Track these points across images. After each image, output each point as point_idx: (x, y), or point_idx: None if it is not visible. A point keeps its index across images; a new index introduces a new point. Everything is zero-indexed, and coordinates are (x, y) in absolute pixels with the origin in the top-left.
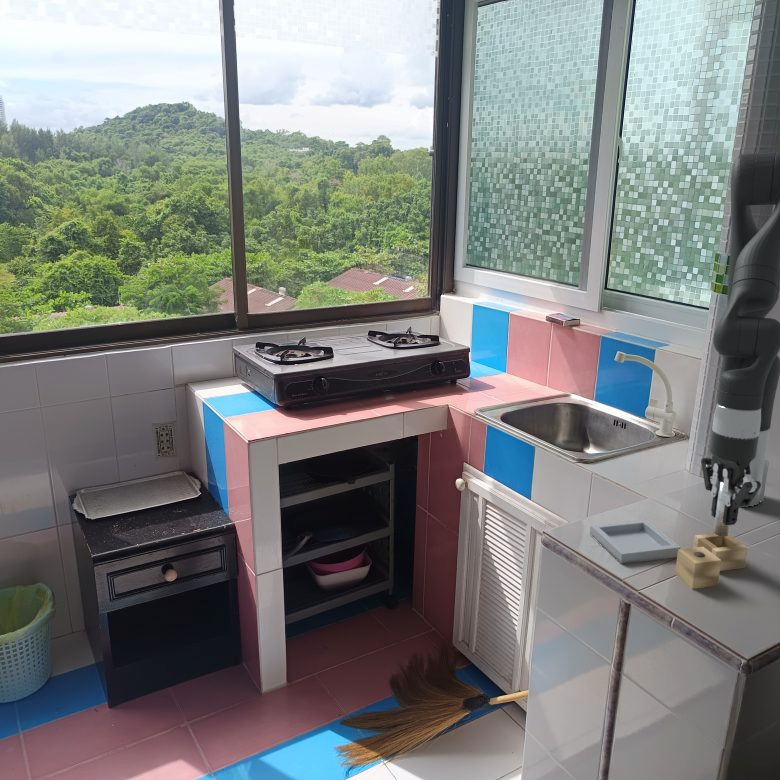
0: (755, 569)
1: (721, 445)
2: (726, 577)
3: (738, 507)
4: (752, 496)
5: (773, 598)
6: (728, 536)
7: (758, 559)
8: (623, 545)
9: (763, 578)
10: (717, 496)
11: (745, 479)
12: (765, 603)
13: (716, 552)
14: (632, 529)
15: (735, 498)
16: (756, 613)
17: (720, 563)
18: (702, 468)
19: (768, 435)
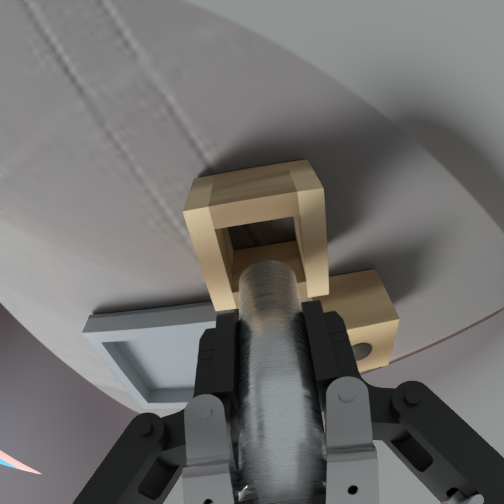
0: (313, 126)
1: None
2: (342, 230)
3: (361, 380)
4: (474, 441)
5: (448, 172)
6: (223, 214)
7: (247, 79)
8: (189, 374)
9: (366, 134)
10: (237, 427)
11: None
12: (456, 202)
13: (328, 292)
14: (116, 347)
15: (402, 456)
16: (471, 239)
17: (395, 311)
18: None
19: None
